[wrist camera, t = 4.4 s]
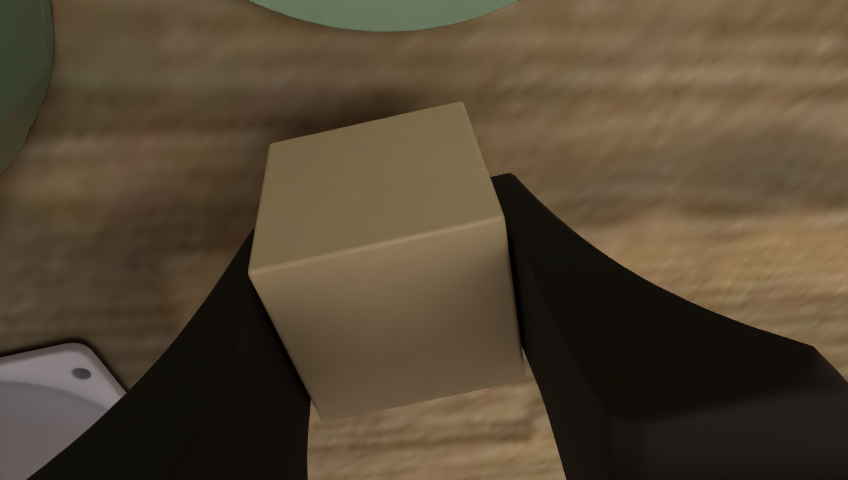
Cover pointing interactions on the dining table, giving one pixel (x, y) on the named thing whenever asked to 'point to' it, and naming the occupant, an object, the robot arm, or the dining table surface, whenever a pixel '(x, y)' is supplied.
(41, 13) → the pan
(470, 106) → the dining table surface
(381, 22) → the lid
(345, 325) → the block
